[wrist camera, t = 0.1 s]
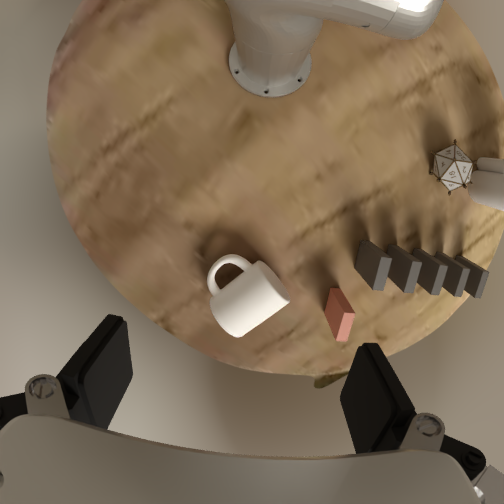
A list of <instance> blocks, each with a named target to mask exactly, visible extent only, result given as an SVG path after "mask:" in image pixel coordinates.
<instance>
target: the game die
mask: <svg viewBox="0 0 504 504" xmlns="http://www.w3.org/2000/svg"><path fill="white" fill-rule="evenodd" d="M456 142H457V141H456V139H455V140H454V144H453V145H451V146H449V147H447V148H445V149H443V150H440V151H439V152H437V153H434V152H433V151H431V154H434V166H433V172H430V173H429V174H430V175H432V174H434V175H435V176H436V177H437V178H438V179H437V182H439V181H441V182H442V184H443V185H444V186H445V187H446V188H447V189H448V190H449V192H448V194H449V196H450V195H451V191H452V190H455V189H457V188H459V187H461V186H463V187H464V188H465V189H466V187H467V186H466V185H465V184H467V183H470V184H473V183H472V182H471V181H470V178H471V173H472V168H473V164H476V163H477V161H474V162H473V161H472V160H471V159H470V158H469V157H468V156H467V155H466V154H465V153H464V152H463V151H462V150H461V149H460V148H459V147H458V146H457V145H456Z"/></svg>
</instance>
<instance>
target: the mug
mask: <svg viewBox="0 0 504 504" xmlns="http://www.w3.org/2000/svg"><path fill="white" fill-rule="evenodd" d="M225 263H232V264H235V265H237V266H239V267H240V268H241V269H242V270H244V272H243V273H242V274H240V275H239V276H238V277H236V278H235V279H234V280H233V281H231V282H230V283H229V284H228V285H226V286H225V287H224V288H222V289H219V287H218V286H217V284H216V282H215V273H216V271H217V270H218V269H219V268H220V267H221V266H222V265H223V264H225ZM207 284H208V288H209V290H210V292H211V294H212V295H213V296H212V297H211V299H210V308H211V311H212V313H213V315H214V317H215V319H216V320H217V322H218V323H219V324H220V326H221V327H222V328H223V329H224V330H225V331H226V332H228V333H229V334H231V335H232V336H235V337H241V336H243V335H244V334H246V333H247V332H249V331H250V330H251V329H253V328H254V327H256V326H257V325H259V324H260V323H261V322H263V321H264V320H266V319H267V318H269V317H270V316H271V315H273V314H274V313H276V312H277V311H278V310H280V309H281V308H282V307H284V306H285V305H287V304H288V303H289V302H290V297H289V294H288V292H287V290H286V288H285V287H284V285H283V284H282V282H281V281H280V279H279V278H278V277H277V275H276V274H275V273H274V272H273V271H272V270H271V269H270V268H269V267H268V266H267V265H266V264H265V263H264V262H262V261H257V262H255V263H254V264H253V265H252V264H251V263H250V262H249V261H247V260H246V259H245V258H243V257H241V256H239V255H235V254H229V255H225V256H223V257H221V258H220V259H218V260H217V261H216V262H215V263H214V264H213V266H212V267H211V269H210V271H209V273H208V277H207Z"/></svg>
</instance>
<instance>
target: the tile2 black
mask: <svg viewBox="0 0 504 504" xmlns="http://www.w3.org/2000/svg"><path fill="white" fill-rule="evenodd" d="M391 261H392V258H391V257H390V256H388V255H387V254H386V253H385V252H383V251H382V250H381V249H379V248H378V247H377V246H376V245H374V244H373V243H372V242H370V241H365V240H361V241H360V246H359V250H358V255H357V259H356V263H355V269H356V271H357V272H358V273H359V274H360V275H361V276H362V278H363V279H364V280H365V281H366V282H367V284H368V285H369V286H370V287H371V288H372V290H380V291H383V290H384V286H385V283H386V279H387V276H388V272H389V268H390V264H391Z"/></svg>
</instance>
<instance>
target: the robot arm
mask: <svg viewBox="0 0 504 504" xmlns="http://www.w3.org/2000/svg"><path fill="white" fill-rule="evenodd" d="M224 1H225V2H226V4H227V5H228V8H229V11H230V15H231V20H232V25H233V31H234V36H235V42H234V44H233V46H232V48H231V50H230V54H229V67H230V71H231V74H232V75H233V77H234V79H235V80H236V82H237V83H238V84H239V85H240V86H241V87H242V88H244V89H245V90H247V91H248V92H250V93H252V94H255V95H258V96H262V97H281V96H285V95H288V94H291V93H292V92H294V91H296V90H297V89H298V88H300V87H301V86H302V85H303V84H304V82H305V81H306V80H307V78H308V76H309V74H310V71H311V64H312V61H311V55H310V50H311V48H312V46H313V44H314V42H315V40H316V38H317V36H318V34H319V32H320V30H321V28H322V24H323V19H326V20H331V21H335V22H339V23H343V24H347V25H351V26H355V27H358V28H362V29H365V30H368V31H372V32H375V33H378V34H381V35H384V36H388V37H392V38H396V39H402V40H410V39H414V38H417V37H419V36H421V35H422V34H424V33H425V32H426V31H427V30H428V29H429V28H430V26H431V25H432V24H433V22H434V20H435V19H436V17H437V15H438V13H439V11H440V8H441V6H442V3H443V1H444V0H224ZM236 72H239V73H238V74H236ZM298 80H300V81H301V82H298ZM265 91H267V92H268V93H267V94H266V93H264V92H265ZM132 376H133V370H132V362H131V355H130V347H129V339H128V329H127V322H126V321H124V320H123V318H122V317H121V316H116V315H111V314H108V315H107V316H106V317H105V319H104V320H103V321H102V322H101V323H100V324H99V326H98V327H97V328H96V329H95V331H94V332H93V333H92V334H91V335H90V336H89V338H88V339H87V340H86V341H85V342H84V343H83V344H82V345H81V346H80V347H79V349H78V350H77V351H76V352H75V354H74V355H73V356H72V357H71V358H70V360H69V361H68V362H67V364H66V365H65V366H64V367H63V369H62V370H61V371H60V373H59V374H58V375H57V376H56V378H55V377H54V376H51V375H47V374H41V375H37V376H34V377H32V378H31V379H30V380H29V381H28V382H27V383H26V386H25V392H24V393H19V394H15V395H10V396H6V397H1V398H0V504H504V475H503V474H502V473H501V472H499V471H498V470H497V469H495V468H494V467H493V466H491V465H489V466H488V467H487V466H486V459H485V456H484V455H483V453H482V452H481V451H480V450H478V449H477V448H475V447H472V446H470V445H468V444H465V443H463V442H460V441H458V440H456V439H453V438H451V437H449V436H447V435H445V434H444V433H445V426H444V423H443V422H442V420H441V419H440V418H438V417H437V416H435V415H433V414H430V413H420V414H417V413H416V412H415V408H414V406H413V404H412V402H411V400H410V398H409V397H408V395H407V393H406V391H405V389H404V388H403V386H402V385H401V382H400V381H399V379H398V377H397V375H396V374H395V372H394V370H393V368H392V367H391V365H390V363H389V362H388V360H387V358H386V356H385V355H384V353H383V351H382V350H381V348H380V346H379V345H378V344H377V343H363V345H362V346H359V347H358V349H357V352H356V355H355V357H354V360H353V363H352V366H351V368H350V371H349V374H348V376H347V379H346V381H345V384H344V387H343V389H342V391H341V395H340V401H341V405H342V408H343V411H344V414H345V418H346V421H347V424H348V428H349V431H350V434H351V438H352V441H353V444H354V448H355V451H356V454H348V455H333V456H313V457H311V456H309V457H283V456H257V455H242V454H230V453H221V452H213V451H205V450H198V449H192V448H186V447H180V446H174V445H169V444H164V443H159V442H154V441H150V440H146V439H141V438H137V437H133V436H129V435H125V434H121V433H118V432H114V431H110V430H107V429H108V426H109V424H110V422H111V420H112V418H113V416H114V414H115V412H116V410H117V408H118V406H119V404H120V402H121V400H122V398H123V396H124V394H125V392H126V390H127V387H128V386H129V383H130V382H131V379H132Z"/></svg>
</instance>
